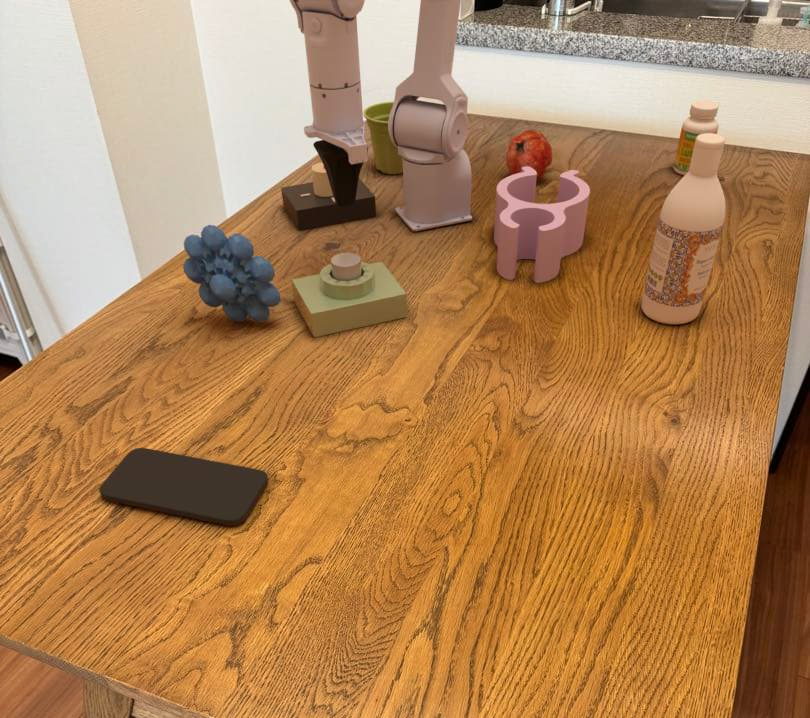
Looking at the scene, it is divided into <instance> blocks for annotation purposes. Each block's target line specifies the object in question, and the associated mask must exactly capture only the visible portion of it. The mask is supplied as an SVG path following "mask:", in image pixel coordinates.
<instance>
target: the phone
mask: <svg viewBox="0 0 810 718" xmlns="http://www.w3.org/2000/svg"><path fill="white" fill-rule="evenodd" d="M268 484H269V479H268V474H267V473H266V471H264V470H261V469H256V468H253V467H248V466H247V467H246V466H240V465H238V464H237V465H236V464H231V463H226V462H220V461H215V460H210V459H204V458H200V457H194V456H188V455H184V454H179V453H173V452H167V451H162V450H157V449H152V448H146V447H137V448H134V449H131V450H130V451H129V452H128V453H127V454H126V455H125V456H124V457H123V459H122V460H121V461H120V462H119V463H118V464H117V466H116V467H115V468H114V469H113V470H112V472H111V473H110V474H109V475H108V476H107V478H106V479H104V481H103V482H102V484H100V487H99V494H100V496H101V498H102V499H103V500H105V501H109V502H114V503H118V504H123V505H128V506H133V507H138V508H141V509H142V508H143V509H148V510H151V511H156V512H162V513H165V514H166V513H167V514H171V515H176V516H180V517H185V518H191V519H194V520H199V521H204V522H205V521H206V522H211V523H214V524H220V525H224V526H229V527H232V526H239V525H241V524H242V523H244V522H245V521H246V520H247V518H248V517H249V515H250V513H251V512H252V510H253V508H254V507H255V505H256V504H257V502H258V500H259V499H260V497H262V494H263V492H264V491H265V489H266V487H267V486H268Z"/></svg>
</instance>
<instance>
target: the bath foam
mask: <svg viewBox="0 0 810 718" xmlns="http://www.w3.org/2000/svg"><path fill="white" fill-rule="evenodd" d="M725 143H726V138H725V137H724V136H723V135H721V134H718V133H717V134H713V133H704V134H700V135H698V136H697V138H696V141H695V145H694V149H693V154H692V158H691V163H690V168H689V171H688V173H687V174H686V175H685V176H684V175H683V177H682V178H681V179H680V180H679V181H678V182H677V183H676V184H675V185H674V187H673V188H672V189H671V191H670V192H669V194H668V195H667V196H666V197H665V199H664V202H663V204H662V207H661V209H660V213H659V215H658V222H657V226H656V231H655V235H654V236H655V237H654V240H653V245H652V250H651V256H650V260H649V265H648V270H647V275H646V279H645V284H644V288H643V293H642V299H641V305H640V306H641V310H642V312H643V314H644V315H645V316H646V317H647V318H649V319H651V320H652V321H655V322H658V323H660V324H666V325H682V324H683V325H684V324H687V323H689V322H692V321H694V320H695V319H697V317H698V316H699V315H700V312H701V308H702V305H703V300H704V299H705V294H706V291H707V287H708V283H709V280H710V276H711V272H712V269H713V265H714V262H715V257H716V253H717V250H718V248H719V247H718V246H719V243H720V240H721V236H722V231H723V228H724V224H725V219H726V210H727V209H726V207H727V206H726V198H725V194H724V190H723V188H722V185H721V182H720V180H719V178H718V171H719V166H720V163H721V159H722V155H723V151H724V147H725Z"/></svg>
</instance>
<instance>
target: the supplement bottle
mask: <svg viewBox="0 0 810 718" xmlns="http://www.w3.org/2000/svg"><path fill="white" fill-rule="evenodd" d="M718 111H719V104H718V103H717V102H714V101H711V100H695V101H693V102H692V103H691V105H690V109H689V116H688V117H686V118H685V119H684V120H683V122H682V124H681V125H682V126H681V130H680V134H679V139H678V144H677V147H676V153H675V157H674V162H673V171H674V172H675V173H677V174H679V175H681V176H683V177H684V176H685V175H686V174H687V173H688V171H689V168H690V163H691V158H692V154H693V149H694V145H695V141H696V138H697V136H698V135H700V134H704V133H713V134H718V131H719V125H720V124H719V122H718V120H717V119H716V117H717V115H718Z"/></svg>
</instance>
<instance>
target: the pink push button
mask: <svg viewBox="0 0 810 718" xmlns="http://www.w3.org/2000/svg"><path fill="white" fill-rule="evenodd" d="M361 261H362V257H361V256H360V255H359V254H357V253H355V252H341V253H338V254H335V255H332V257H331V259H330V263H331V267H332V277H333V279H336V280H338V281H351V280H356V279H358V278H360V277H361V276H362V267H361Z"/></svg>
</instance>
